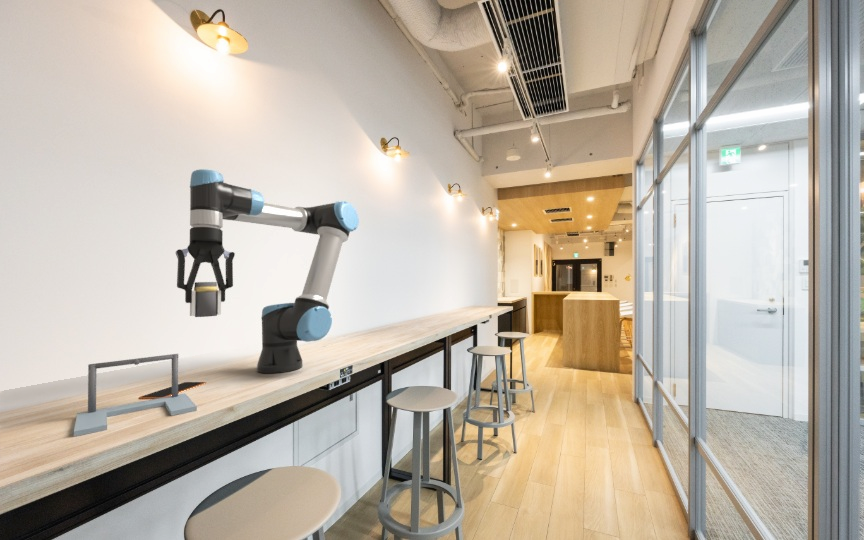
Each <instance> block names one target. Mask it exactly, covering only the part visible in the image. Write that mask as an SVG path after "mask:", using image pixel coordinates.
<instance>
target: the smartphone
mask: <svg viewBox="0 0 864 540" xmlns="http://www.w3.org/2000/svg"><path fill="white" fill-rule="evenodd" d="M204 383H205V384H207V382H206V381H185V382H181V383H178V394H180V393H179V392H181V391H184V390H186V391H188V390H187V389H189V390H191V389H190V388H192V389H194V388H193V387H195V388H197V387H199V385H200V386H203V385H205V384H204ZM202 384H203V385H202ZM196 386H197V387H196ZM184 392H185V391H184ZM181 393H182V392H181ZM171 395H172V386H170V387H166V388H163V389H160V390H155V391H154V392H150V393H147V394H145V395H141V396H139V397H138V400H152V399H157V398H163V397H168V396H171Z"/></svg>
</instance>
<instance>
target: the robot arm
mask: <svg viewBox="0 0 864 540" xmlns="http://www.w3.org/2000/svg"><path fill="white" fill-rule="evenodd" d="M190 175H191V176H190V182H189V183H190V184H189V190H190V193H189V195H190V196H189V200H190V203H189V204H190V205H189V206H190V208H189V211H190V213H189V214H190V215H189V226H191V228H190V229H189V243H188V245H187V247H186V248H182V249H177V250H176V251H175V255H176V258H177V273H176V274H177V275H176V287H177V288H178V289H180V290H184V291H185V295H184V297H185V299H184V300H185V304H189V316H191V317H195V295H196V291H194V290H193V289H194V286H195V282H196V278H197V276H198V272H199V269H200V266H201V264H202V263H206V264H207V263H208V264H210V266H211V268H212V270H213V274H214V277H215V282H217V316H218V315H221V314H222V303H224V302H225V301H226V290H227V289H231V288H232V287H233V286H234V276H233V275H234V274H233V273H234V272H233V270H234V269H233V260H234V258H235V254H236V252H233V251H228V250H225V247H224V246H223V230H222V228H223V225H224V224H223V220H224V221H225V220H226V221H235V222H242V223H248V224H249V223H251V224H258V225H266V226H273V227H281V228H288V229H292V230H293V231H294V232H299V233H306V234H312V235H319V238H318V242H317V244H316V248H315V249H314V250H315V251H314V254H313V256H312V257H313V258H312V261H311V264H310V267H309V271H308V273H307V277H306V280H305V282H304V286H303V288H302V289H303V290H302V293H301V295H298V296H296V298H294V302H286V303H278V304H277V303H275V304H271V305H270V304H269V305H266V306H265V307H263V308H262V311H261V318H260V319H261V339H262V340H261V341H262V342H261V343H262V347H261V348H262V349H261V352H260V355H259V357H258V361H257V363H256V372H258V373H259V374H260V373H261V374H279V373H286V372H287V373H288V372H291V371H292V372H293V371H296V370H299V369H301V368H303V358H302V356H301V353H300V350H299V347H298V342H299V341H300V342H306V343H309V342H310V343H311V342H317V341H320V340H322V339H323V338H324V337H326V336H327V335H328V334H329V332H330V329H331V328H332V324H333V317H331V316H332V314H331V311H330V310H329V308H330V305H329V303H328V302H327V299H328V297H329V296H328V295H329V292H330V289H331V285H332V281H333V278H334V274H335V271H336V267H337V265H338V264H337V263H338V260H339V257H340V252H341V251H342V246H343V243H345V242H346V241H348V240H349V236H350V233H351V232H354V231H355V230H357V229H358V226H359V223H360V221H359V220H360V219H359V214H358V212H357V209H356V208H355V206H354V205H352V203H350V202H348V201H342V200H341V201H335V202H332V203H327V204H326V203H325V204H320V205H315V206H310V207H309V206H308V207H304V206H303V207H302V206H295V207H294V208H293V207H288V206H283V205H279V204H278V205H277V204H273V203H267V202H265V198H264V195H263V194H262V193H261V192H259V191H256V190H254V189H251V188H245V187H242V186H237V185H233V184H229V183H226V182H224V175H223V174H222V173H220V172H219V171H215V170H212V169H204V168H203V169H196V170H193V171H192V172H191V174H190ZM188 254H189V255H191V257H192V259H193V263H192V267H191V270H190V271H189V276H188V277H187V278H188V279H187V281H186V284H185V272H186V269H185V268H186V257H187V256H188ZM222 255H223V257H224V259H225V280H224V277H223V273H222V270H221V267H220V262H219V259H220V258H221V257H222Z"/></svg>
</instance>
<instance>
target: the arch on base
mask: <svg viewBox="0 0 864 540" xmlns="http://www.w3.org/2000/svg"><path fill="white" fill-rule="evenodd" d="M165 360H171V387H172V396H168V397H163V398H157V399H145V400H141V401H137V402H132V403H131V402H130V403H126V404H121V405H115V406H114V405H113V406H109V407H103V408H99V409H97V369H103V368H112V367H119V366H127V365H128V366H129V365H136V366H138V365H139V364H141V363H143V364H144V363H150V362H151V363H153V362H159V361H165ZM87 366H88V371H87V372H88V373H87V376H88V377H87V378H88V380H87V411H83V412H82V411H81V412H77V413H76V418H75V423H74V428H73V429H74V430H73V437H78V436H83V435H88V434H92V433H98V432H102V431H107V429H108V417H113V416H118V415H123V414H128V413H134V412H139V411H144V410H149V409H153V408H154V409H155V408H159V407H163V406H164V407H165V408H166V409H167V412H168V413H169V415H170V417H171V416H177V415H181V414H186V413H191V412H195V411H198V410H197V408H198V407H197V405H196V404H195V403H194V401H193V400H192V399H191V398H190V397H189V396H188V394H186V393H184V392H183V393H178V384H179V353H173V354H172V353H171V354H164V355H163V354H162V355H156V356H147V357H139V358H130V359H121V360H114V361H113V360H112V361H105V362H99V363H98V362H97V363H90V364H87Z"/></svg>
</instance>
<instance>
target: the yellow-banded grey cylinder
mask: <svg viewBox="0 0 864 540" xmlns="http://www.w3.org/2000/svg"><path fill="white" fill-rule="evenodd" d="M217 290H218V285H217V281H197V282H196V281H195V282H194V286H193V291H196V295H195V316H194V317H195V318H204V317H206V318H208V317H216V316H218V315H217Z"/></svg>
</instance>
